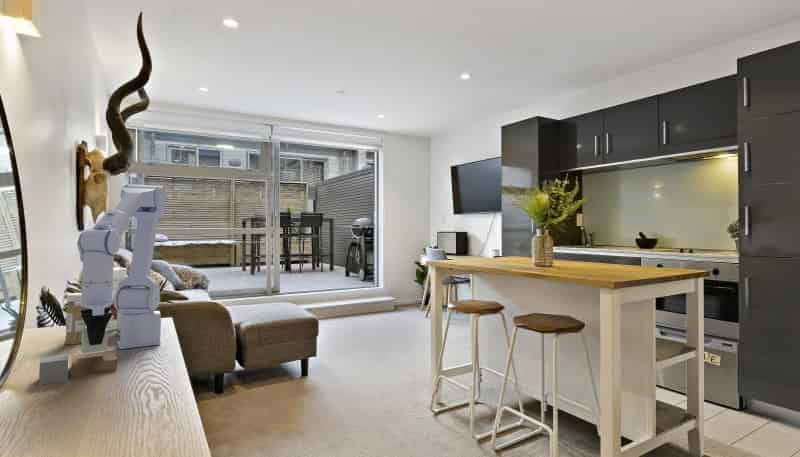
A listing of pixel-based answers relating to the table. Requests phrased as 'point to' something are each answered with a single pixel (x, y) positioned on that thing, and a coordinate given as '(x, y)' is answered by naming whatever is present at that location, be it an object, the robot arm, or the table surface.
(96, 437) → the table surface
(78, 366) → the walnut block
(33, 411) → the table surface
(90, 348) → the sage block
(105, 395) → the table surface
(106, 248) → the robot arm
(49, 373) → the grey block
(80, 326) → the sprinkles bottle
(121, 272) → the juice carton
